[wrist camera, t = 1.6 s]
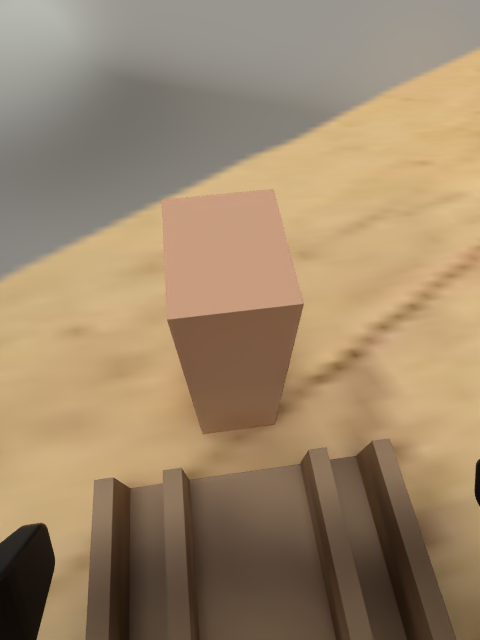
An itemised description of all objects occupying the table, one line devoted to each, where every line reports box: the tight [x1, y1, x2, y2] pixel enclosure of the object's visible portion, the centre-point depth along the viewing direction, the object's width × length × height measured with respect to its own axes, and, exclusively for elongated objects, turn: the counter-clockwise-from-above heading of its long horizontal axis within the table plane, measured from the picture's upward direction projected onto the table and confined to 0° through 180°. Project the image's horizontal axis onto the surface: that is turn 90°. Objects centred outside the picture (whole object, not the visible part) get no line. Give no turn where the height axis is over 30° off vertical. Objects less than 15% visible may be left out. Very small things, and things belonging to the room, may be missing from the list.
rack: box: [86, 439, 456, 640], centre depth 16 cm, size 9×13×4 cm
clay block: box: [162, 189, 304, 434], centre depth 18 cm, size 5×4×12 cm
